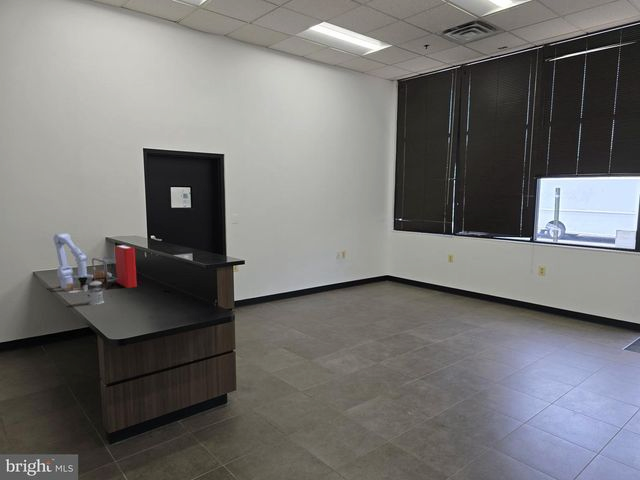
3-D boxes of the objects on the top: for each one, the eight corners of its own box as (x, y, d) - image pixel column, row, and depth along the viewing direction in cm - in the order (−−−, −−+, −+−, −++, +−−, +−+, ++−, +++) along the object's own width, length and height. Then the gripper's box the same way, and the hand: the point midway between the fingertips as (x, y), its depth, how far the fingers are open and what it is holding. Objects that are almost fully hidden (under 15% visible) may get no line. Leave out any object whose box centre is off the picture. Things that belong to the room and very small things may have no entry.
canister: (68, 288, 330) (67, 283, 330) (74, 288, 331) (74, 283, 330) (65, 290, 326) (65, 284, 325) (71, 290, 326) (71, 284, 326)
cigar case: (92, 284, 350) (91, 270, 349) (92, 284, 352) (91, 270, 350) (106, 283, 356) (105, 269, 354) (106, 282, 357) (105, 268, 356)
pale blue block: (71, 292, 324) (70, 285, 323) (88, 291, 325) (87, 284, 325) (67, 294, 318) (67, 286, 317) (84, 293, 320) (84, 286, 319)
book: (117, 282, 358) (114, 245, 354) (127, 281, 363) (124, 244, 359) (126, 288, 337) (124, 248, 333) (137, 286, 342) (134, 247, 338)
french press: (86, 305, 288) (83, 269, 285) (92, 300, 299) (89, 266, 296) (102, 304, 290) (99, 268, 287) (107, 299, 301) (104, 265, 298)
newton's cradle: (119, 280, 367) (117, 260, 365) (106, 282, 359) (105, 261, 357) (105, 275, 387) (103, 256, 385) (93, 277, 379) (91, 258, 377)
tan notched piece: (67, 290, 331) (66, 283, 330) (83, 289, 332) (82, 282, 332) (63, 292, 325) (63, 284, 324) (80, 291, 327) (79, 284, 326)
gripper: (70, 271, 323) (71, 288, 324) (90, 270, 325) (91, 287, 326) (74, 269, 330) (75, 286, 331) (93, 268, 332) (94, 285, 333)
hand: (83, 286), depth 329 cm, fingers closed
